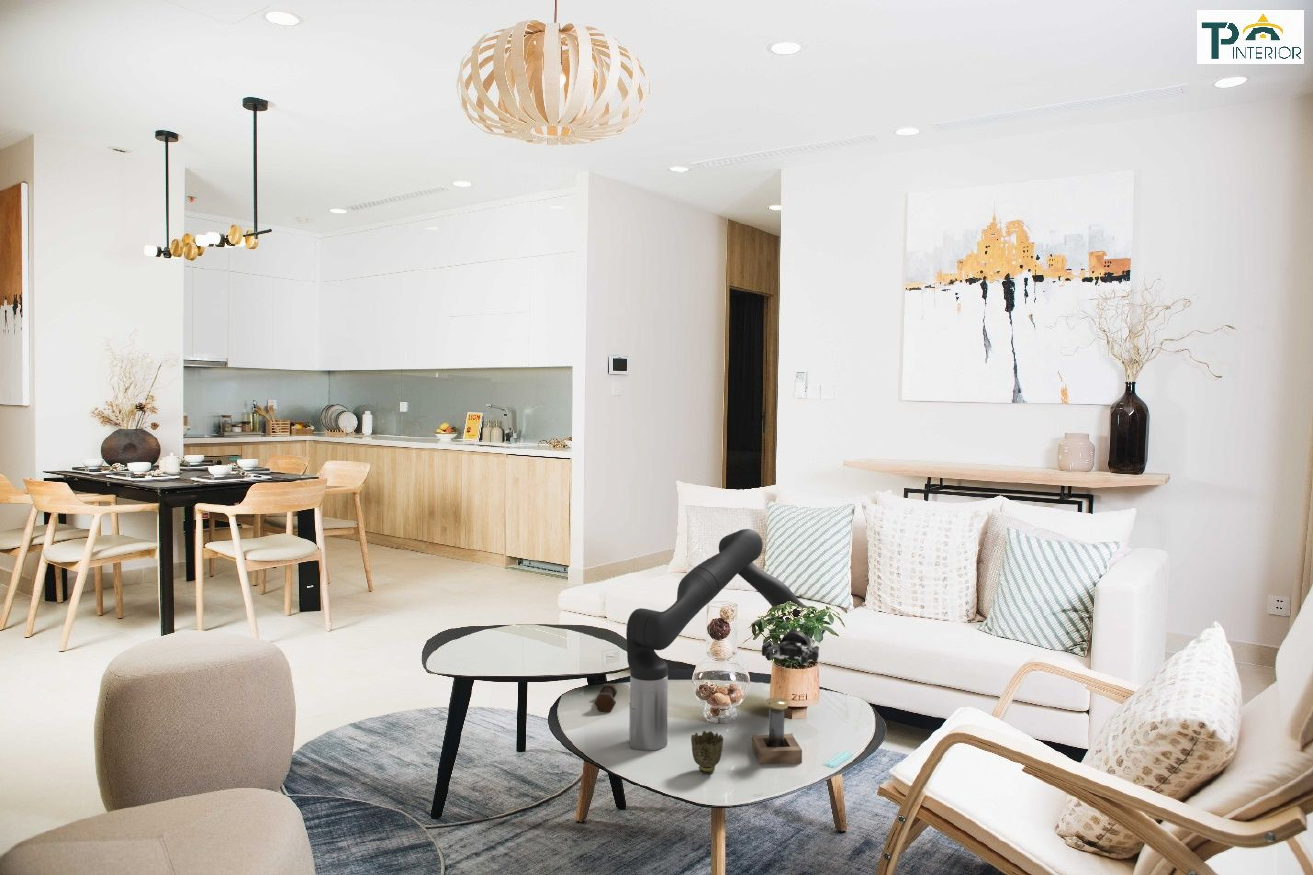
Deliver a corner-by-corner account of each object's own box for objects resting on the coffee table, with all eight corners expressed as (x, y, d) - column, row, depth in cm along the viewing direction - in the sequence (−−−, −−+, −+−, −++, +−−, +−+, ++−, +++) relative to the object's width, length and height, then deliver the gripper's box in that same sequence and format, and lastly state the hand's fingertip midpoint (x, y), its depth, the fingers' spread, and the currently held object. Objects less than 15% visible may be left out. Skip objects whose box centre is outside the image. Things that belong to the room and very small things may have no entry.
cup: (699, 780, 198) (699, 745, 197) (685, 767, 205) (685, 733, 204) (728, 774, 201) (729, 740, 200) (713, 762, 208) (714, 729, 207)
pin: (767, 759, 209) (768, 705, 209) (763, 750, 215) (763, 697, 214) (789, 758, 210) (790, 704, 209) (784, 749, 215) (784, 697, 214)
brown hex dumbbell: (612, 700, 255) (607, 717, 240) (597, 691, 255) (591, 708, 240) (622, 683, 255) (618, 699, 240) (607, 674, 255) (602, 689, 240)
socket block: (759, 764, 207) (760, 751, 207) (751, 747, 217) (751, 735, 217) (801, 762, 208) (802, 750, 208) (791, 745, 218) (791, 733, 217)
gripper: (771, 626, 239) (758, 640, 224) (824, 631, 234) (814, 646, 219) (770, 653, 239) (757, 670, 224) (823, 659, 235) (813, 676, 219)
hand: (785, 658), depth 222 cm, fingers open, 8 cm apart
